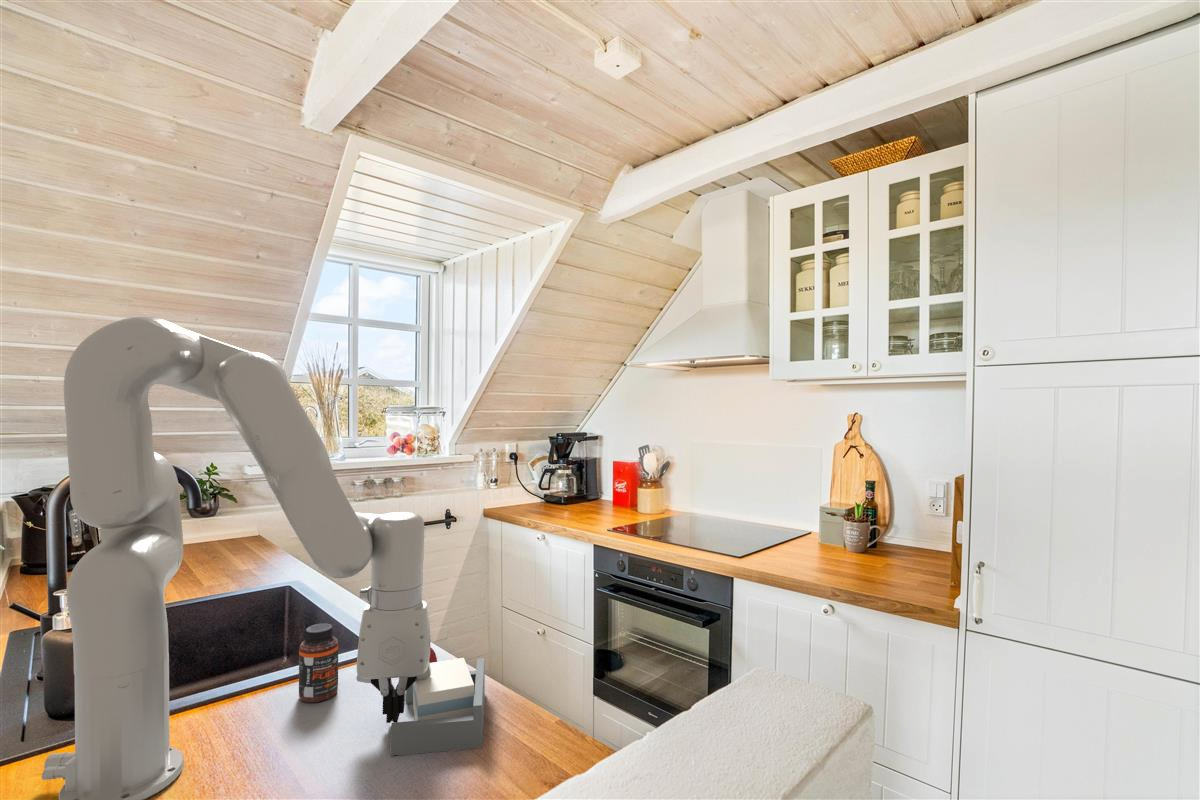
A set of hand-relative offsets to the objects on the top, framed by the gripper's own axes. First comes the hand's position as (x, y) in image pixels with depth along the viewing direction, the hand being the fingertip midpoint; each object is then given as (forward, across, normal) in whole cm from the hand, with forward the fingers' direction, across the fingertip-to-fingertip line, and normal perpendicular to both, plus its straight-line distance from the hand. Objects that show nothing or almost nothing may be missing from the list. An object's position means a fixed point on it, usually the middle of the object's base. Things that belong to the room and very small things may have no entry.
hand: (393, 717), depth 91 cm
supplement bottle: (+2, -14, +12) cm, 18 cm away
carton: (+1, +7, +1) cm, 7 cm away
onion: (+1, +2, +13) cm, 13 cm away
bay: (+1, +7, 0) cm, 7 cm away
